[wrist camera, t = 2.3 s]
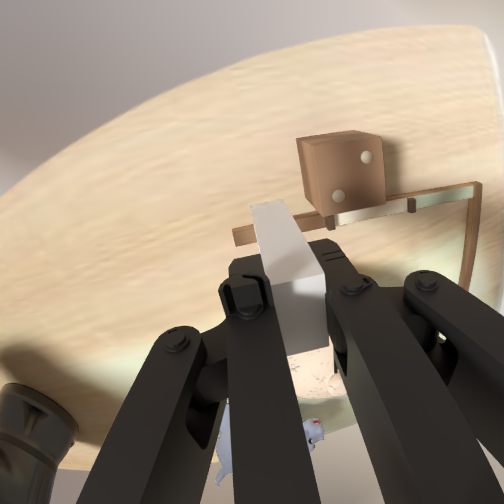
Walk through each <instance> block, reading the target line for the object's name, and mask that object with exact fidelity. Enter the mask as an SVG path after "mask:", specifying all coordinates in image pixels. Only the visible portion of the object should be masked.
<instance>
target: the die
mask: <svg viewBox="0 0 504 504" xmlns="http://www.w3.org/2000/svg"><path fill="white" fill-rule="evenodd" d="M296 142H297V147H298V153H299V160H300V166H301V172H302V178H303V185H304V192H305V197H306V199H307V200H308V201H309V202H310V203H311V204H312V205H313V206H314V208H315V209H316V210H317V211H318V212H319V213H320V214H321V216H322V217H326V216H331V215H336V214H340V213H345V212H350V211H355V210H360V209H365V208H370V207H375V206H380V205H385V204H386V193H385V175H384V162H383V150H382V140H381V137H380V136H376V135H372V134H368V133H364V132H359V131H355V130H351V131H343V132H336V133H329V134H322V135H315V136H308V137H302V138H296Z"/></svg>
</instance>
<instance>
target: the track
mask: <svg viewBox="0 0 504 504" xmlns="http://www.w3.org/2000/svg"><path fill="white" fill-rule="evenodd" d="M467 198H469V202H468V216H467V227H466V236H465V245H464V252H463V259H462V266H461V272H460V278H459V284H458V285H459V286H460V287H462V288H463V289H465V290H466V291H469V286H470V281H471V276H472V271H473V265H474V259H475V253H476V246H477V239H478V231H479V222H480V212H481V199H482V184H481V183H479V182H477V181H476V182H469V183H464V184H458V185H452V186H446V187H440V188H434V189H429V190H423V191H418V192H412V193H407V194H401V195H396V196H390V197H386V204H385V205H380V206H375V207H370V208H365V209H360V210H355V211H350V212H345V213H340V214H336V215H331V216H326V217H322V216H321V214H320V213H319V212H318V211H314V212H309V213H304V214H300V215H295V216H293V218H294V220H295V222H296V223H297V225H298V227H299V229H300V230H301V232H306V231H310V230H315V229H320V228H324V227H326V228H327V229H328V230H329V231H330V230H335V229H336V228H335V226H339V225H343V224H348V223H353V222H357V221H362V220H367V219H371V218H376V217H381V216H386V215H390V214H395V213H400V212H405V211H408V212H410V213H414V212H416V209H419V208H424V207H429V206H433V205H438V204H443V203H448V202H453V201H458V200H462V199H467ZM232 232H233V237H234V241H235V245H236V247H237V246H242V245H246V244H251V243H255V242H257V238H256V233H255V229H254V224H253V225H248V226H244V227H239V228H235V229H232Z"/></svg>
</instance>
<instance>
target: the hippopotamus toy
mask: <svg viewBox="0 0 504 504" xmlns="http://www.w3.org/2000/svg"><path fill="white" fill-rule="evenodd" d="M303 427H304V431H305V435H306V439H307V444H308V448H309V452H311V451H313V449H314V448H315V445H314V443H316V442H317V441H319V440H324V437H323V434H324V430H323V427H322V424H321V423H320V420H319V419H318V418H311V419H308V420H306V421H305V422H303ZM220 434H221V435H220V437H219V439H218V441H217V444H216V453H217V456H218V458H219V460H220V462H221V464H222V466H223V467H222V468H221V469H220V470H219V471H218V473H217V476H216V481H215V485H217V486H219V483H220V481H221V480H222V479H223V478H224V477H225V475H226V474H228V473H233V472H232V455H231V437H230V417H229V404H226V407H225V411H224V415H223V419H222V423H221V426H220Z"/></svg>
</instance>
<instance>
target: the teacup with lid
mask: <svg viewBox="0 0 504 504" xmlns="http://www.w3.org/2000/svg"><path fill="white" fill-rule="evenodd" d="M287 359H288V363H289V367H290V371H291V375H292V380H293V384H294V388H295V392H296V396H298V397H302V398H307V399H321V398H328V397H332V396H342V395H345V394H347V392H346V389H345V386H344V384H343V381H342V378H341V376H340V373H339V370H338V373H336V374H334V358H333V344H332V341H331V339H330V336H329V346H328V347H324V348H320V349H316V350H312V351H308V352H304V353H299V354H295V355H290V356H287Z"/></svg>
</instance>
